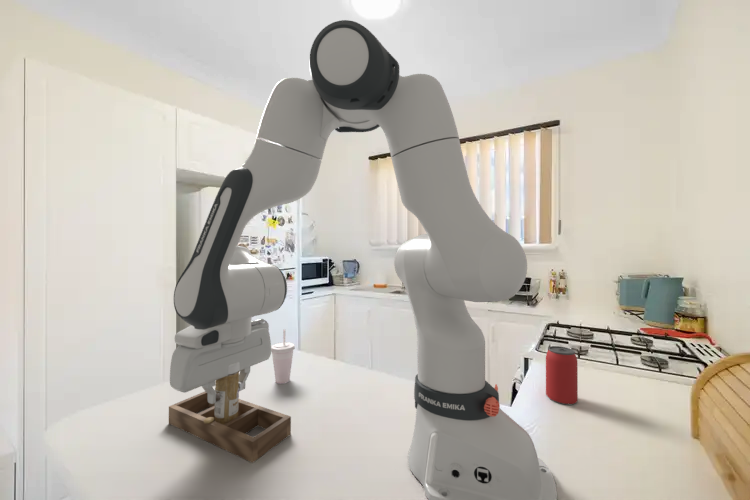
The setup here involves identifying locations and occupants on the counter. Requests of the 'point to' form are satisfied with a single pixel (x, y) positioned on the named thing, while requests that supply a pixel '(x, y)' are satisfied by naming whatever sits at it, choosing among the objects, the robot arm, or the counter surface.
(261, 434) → the spice caddy
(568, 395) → the beer can
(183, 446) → the counter surface
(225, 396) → the sprinkles bottle
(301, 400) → the counter surface
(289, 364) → the smoothie
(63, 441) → the counter surface
